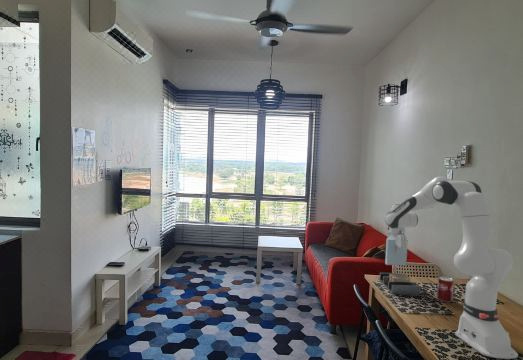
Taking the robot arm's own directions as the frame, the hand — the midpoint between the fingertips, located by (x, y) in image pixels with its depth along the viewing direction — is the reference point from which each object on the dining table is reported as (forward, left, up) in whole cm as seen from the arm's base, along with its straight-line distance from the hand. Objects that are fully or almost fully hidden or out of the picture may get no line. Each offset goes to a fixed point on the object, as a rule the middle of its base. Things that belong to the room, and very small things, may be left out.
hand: (396, 251), depth 190 cm
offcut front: (-9, 0, -19) cm, 21 cm away
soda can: (-21, -19, -20) cm, 35 cm away
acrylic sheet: (0, 0, -8) cm, 8 cm away
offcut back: (-5, 0, -19) cm, 20 cm away
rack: (-5, 0, -20) cm, 21 cm away
